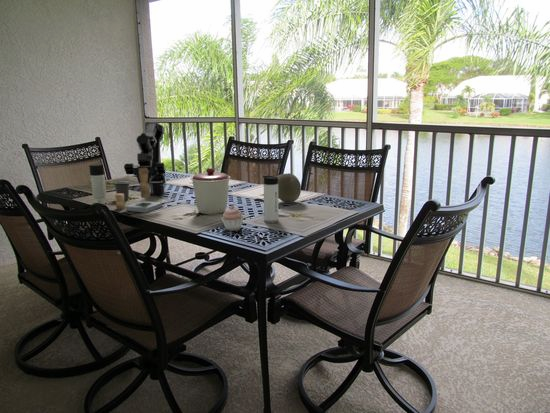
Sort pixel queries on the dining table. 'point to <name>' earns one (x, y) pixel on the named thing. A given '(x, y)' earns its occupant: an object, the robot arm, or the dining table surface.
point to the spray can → (98, 183)
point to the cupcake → (232, 218)
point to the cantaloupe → (288, 187)
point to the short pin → (120, 201)
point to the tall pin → (144, 182)
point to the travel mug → (270, 199)
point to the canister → (211, 191)
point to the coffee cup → (122, 188)
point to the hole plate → (143, 206)
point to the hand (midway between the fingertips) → (143, 183)
